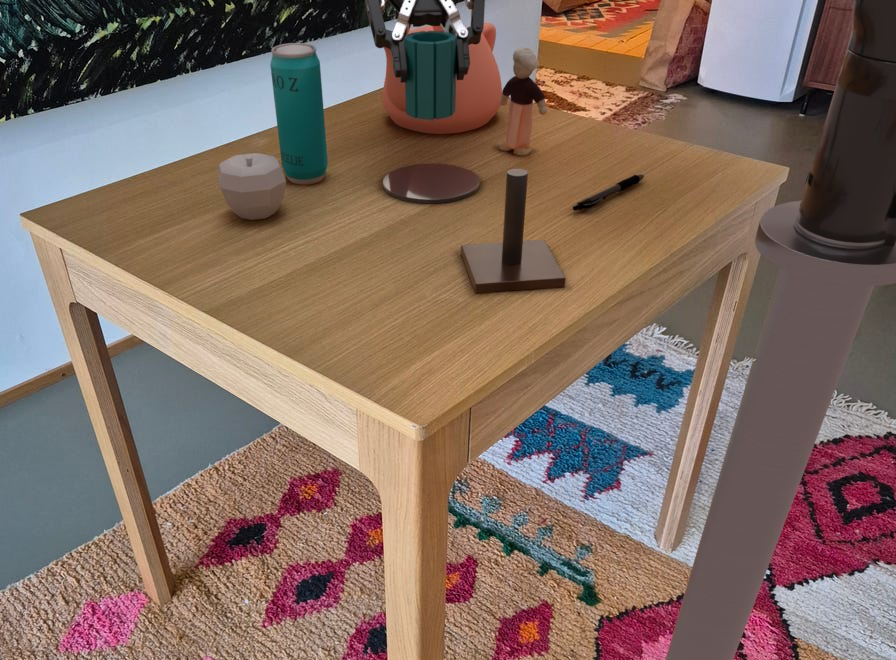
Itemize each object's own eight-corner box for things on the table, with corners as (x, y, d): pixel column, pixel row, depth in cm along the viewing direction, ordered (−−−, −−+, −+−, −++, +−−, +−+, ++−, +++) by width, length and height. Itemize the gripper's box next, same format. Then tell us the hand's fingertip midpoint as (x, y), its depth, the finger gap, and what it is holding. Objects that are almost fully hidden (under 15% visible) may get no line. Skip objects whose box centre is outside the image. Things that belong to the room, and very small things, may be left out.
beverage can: (299, 167, 108) (286, 40, 99) (337, 173, 107) (327, 45, 97) (274, 182, 105) (258, 51, 95) (313, 189, 103) (301, 56, 93)
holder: (543, 247, 89) (552, 153, 83) (564, 287, 82) (576, 187, 76) (460, 253, 89) (463, 158, 82) (475, 293, 82) (479, 192, 75)
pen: (581, 216, 95) (582, 206, 94) (569, 212, 96) (570, 202, 95) (650, 182, 103) (651, 173, 102) (638, 179, 103) (640, 170, 103)
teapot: (427, 155, 111) (427, 45, 103) (338, 129, 120) (330, 25, 111) (533, 109, 126) (541, 9, 117) (447, 89, 134) (448, -6, 125)
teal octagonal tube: (458, 106, 99) (460, 32, 94) (449, 121, 95) (450, 44, 90) (413, 103, 100) (412, 29, 95) (401, 118, 96) (400, 42, 91)
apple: (213, 227, 94) (202, 169, 90) (232, 200, 100) (224, 144, 96) (281, 229, 94) (274, 171, 89) (297, 202, 100) (291, 146, 95)
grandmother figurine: (486, 149, 113) (491, 46, 104) (501, 141, 115) (506, 40, 107) (537, 160, 109) (545, 55, 101) (550, 152, 112) (560, 48, 103)
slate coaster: (486, 170, 107) (487, 166, 106) (470, 207, 98) (470, 203, 98) (396, 164, 109) (396, 160, 109) (371, 199, 100) (371, 195, 100)
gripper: (356, -87, 91) (370, 61, 89) (486, -90, 92) (501, 55, 91) (356, -39, 98) (368, 98, 97) (476, -43, 99) (490, 92, 98)
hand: (432, 77), depth 94 cm, fingers closed on teal octagonal tube, 6 cm apart
